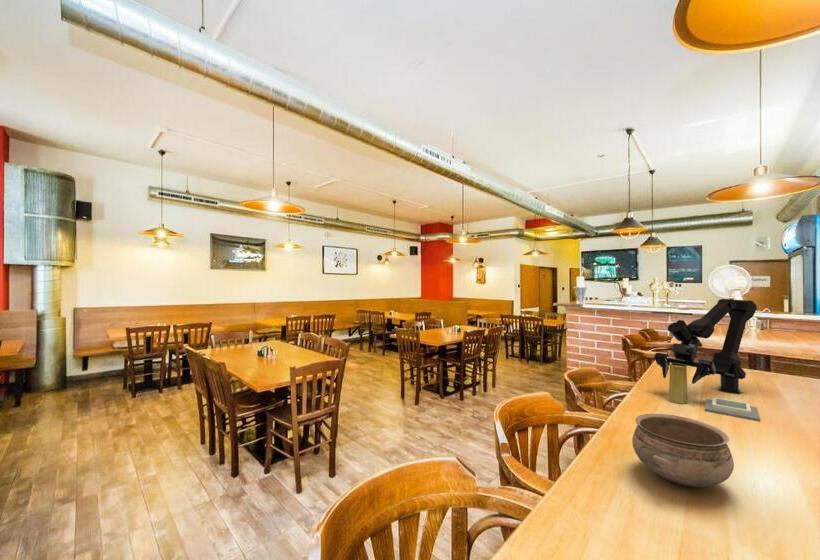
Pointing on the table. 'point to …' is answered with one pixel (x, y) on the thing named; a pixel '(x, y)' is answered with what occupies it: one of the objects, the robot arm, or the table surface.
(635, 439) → the cooking pot
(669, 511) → the table surface
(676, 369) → the vase
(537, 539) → the table surface
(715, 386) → the table surface
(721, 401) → the vase holder
